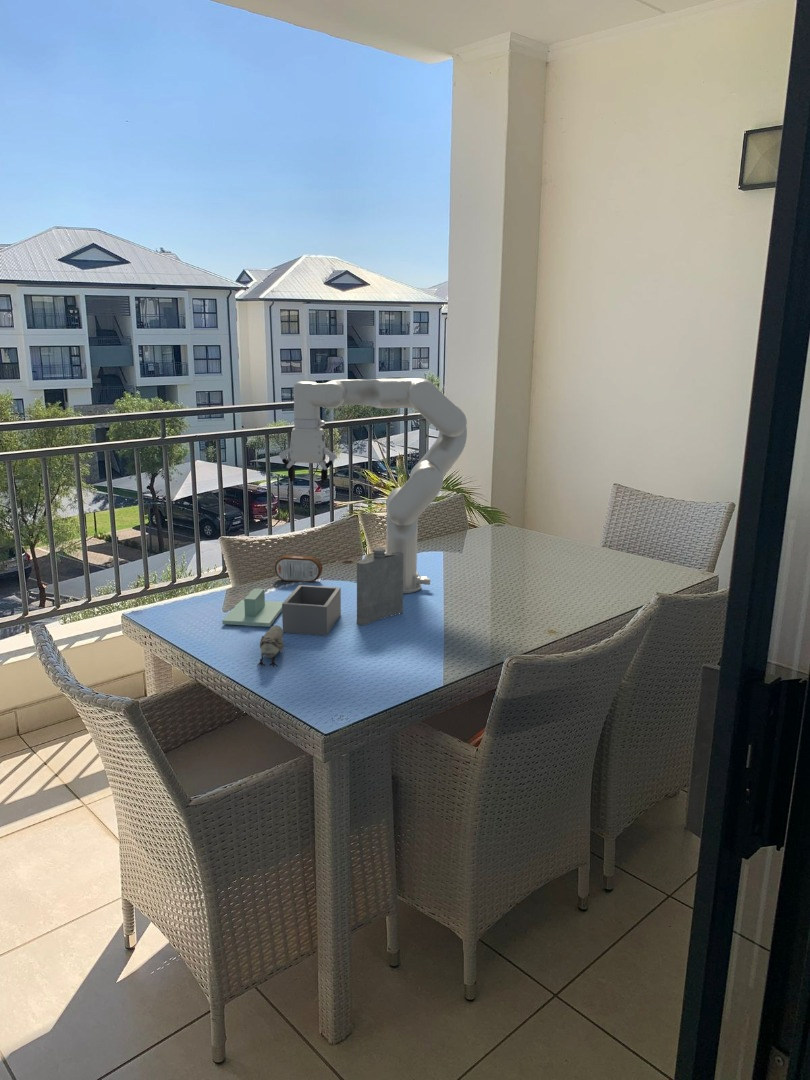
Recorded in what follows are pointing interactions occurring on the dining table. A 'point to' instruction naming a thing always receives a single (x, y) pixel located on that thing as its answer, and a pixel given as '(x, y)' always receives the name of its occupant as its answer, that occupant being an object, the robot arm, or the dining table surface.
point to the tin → (298, 568)
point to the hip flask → (379, 586)
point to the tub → (311, 610)
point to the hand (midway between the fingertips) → (308, 481)
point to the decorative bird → (271, 643)
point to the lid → (254, 610)
